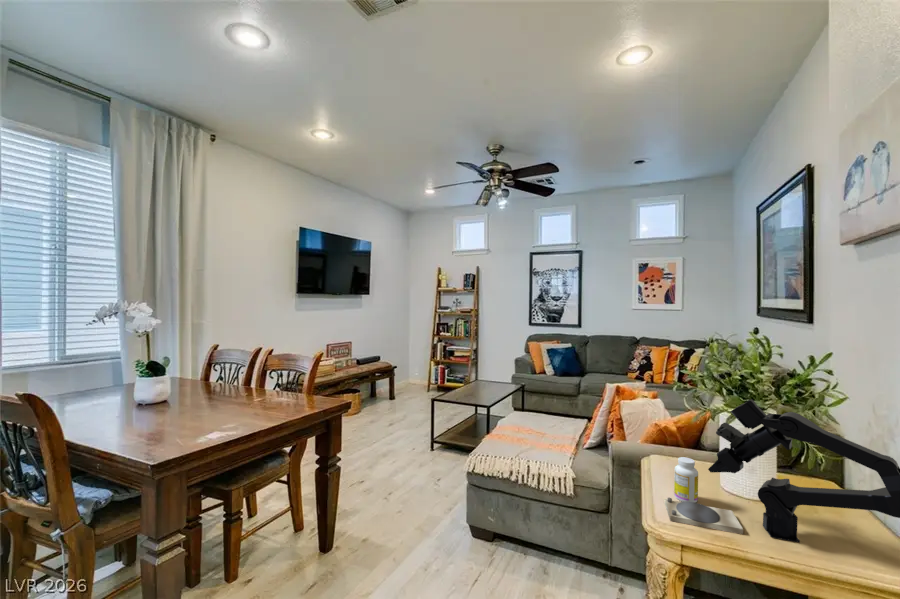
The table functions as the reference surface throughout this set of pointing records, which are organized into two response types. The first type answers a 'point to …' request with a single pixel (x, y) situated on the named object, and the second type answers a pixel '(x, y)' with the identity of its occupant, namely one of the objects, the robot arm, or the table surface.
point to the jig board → (702, 516)
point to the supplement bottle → (686, 480)
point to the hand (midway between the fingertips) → (714, 466)
